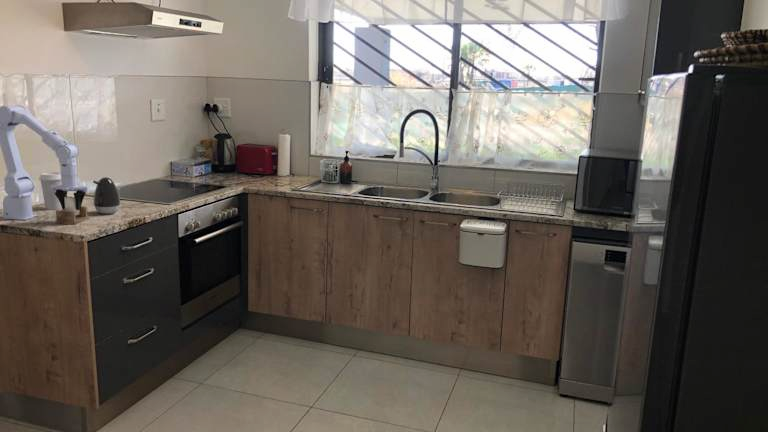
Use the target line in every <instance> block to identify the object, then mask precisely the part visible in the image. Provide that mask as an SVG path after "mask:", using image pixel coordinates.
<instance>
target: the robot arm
mask: <svg viewBox="0 0 768 432" xmlns="http://www.w3.org/2000/svg"><path fill="white" fill-rule="evenodd" d="M20 124H22V125H24V126H26V127H28V128H29V129H31V130H32V132H33V131H34V133H36V134H37V135H38V136H40V137H41V141H42V142H43V143H44V144H45V145H46V146H47V147H49V149H51V150H52V151H53V152H55V156H56V158H57V159H58V163H59V170H60V173H61V184H62V185H52V186H50V188H51V191H56V192H55V195H56V197H57V198H58V200H59V201H60V204H61V206H62V209H65V203H64V197H66V196H68V192H73V193H72V194H73V196H74V197H75V201H76V210H80V209H81V206H82V204H83V201H84V197H85V195H86V194H87V193H90V192H91V191H90V190H91V189H90V186H87V185H85V186H83V185H79V178H78V167H77V163H78V162H77V157H78V156H79V154H80V150H79V148H78V146H77V145H76V144H75V143H72V142H71V143H70V142H69V141H68V140H66V139H65V138H63V137H62V136H60V134H59V132H58V131H54V130H48V129H47V128H46V127H45V126H44V125H43V124H42V123H41V122H40V121H39V120H38V119H37V118H36V117H34V115H32V113H31V111H30V110H29V109H27V108H26V107H25V106H23V105H21V104H17V105H1V106H0V149H1V152H2V153H1V154H2V157H3V159H4V164H5V167H6V170H7V174H6V175H5V177H4V179H3V180H4V191H5V193H6V194H7V195H5V196H4V197H3V200H2V211H3V217H2V219H4V220H19V221H20V220H22V221H23V220H24V221H27V220H30V219H32V218H35V217H38V214H33V201H32V194H33V193H32V192H33V191H34V190H35V182H34V180H33V179H32V178H31V175H30V174H29V172H27V171H26V170H25V169H24V165H23V163H22V159H21V154H20V151H19V148H18V144H17V140H16V136H15V133H14V131H15V129H16V128H17V126H19V125H20ZM62 209H61V210H62Z"/></svg>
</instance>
